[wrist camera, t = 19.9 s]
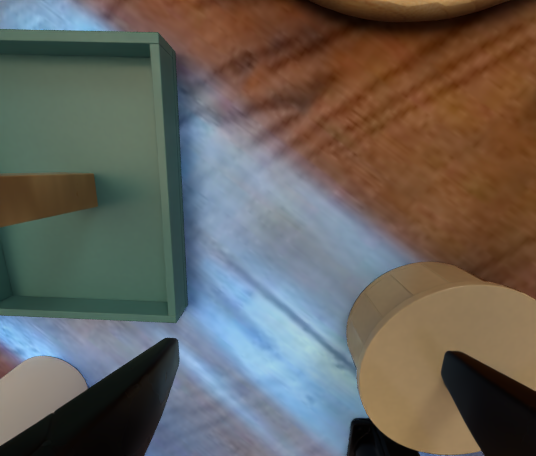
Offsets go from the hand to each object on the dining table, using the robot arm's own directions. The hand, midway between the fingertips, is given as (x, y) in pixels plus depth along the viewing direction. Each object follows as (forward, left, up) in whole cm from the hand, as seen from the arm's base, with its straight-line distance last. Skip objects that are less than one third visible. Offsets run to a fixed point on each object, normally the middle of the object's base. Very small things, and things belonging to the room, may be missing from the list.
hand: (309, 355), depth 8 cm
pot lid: (-7, -11, -8) cm, 15 cm away
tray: (+4, +16, -12) cm, 20 cm away
